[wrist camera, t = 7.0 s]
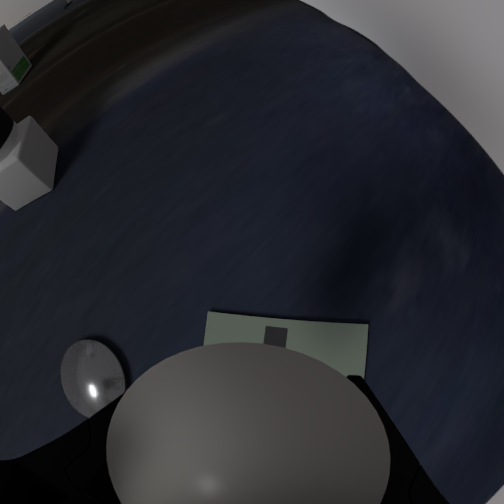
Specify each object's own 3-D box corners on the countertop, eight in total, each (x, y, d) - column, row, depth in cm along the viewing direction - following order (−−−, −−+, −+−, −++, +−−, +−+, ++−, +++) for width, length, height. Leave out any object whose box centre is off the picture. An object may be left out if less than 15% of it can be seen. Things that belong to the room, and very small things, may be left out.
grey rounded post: (302, 452, 12) (336, 601, 2) (217, 441, 13) (111, 562, 3) (320, 333, 14) (414, 286, 4) (234, 324, 15) (133, 256, 5)
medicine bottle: (59, 147, 30) (9, 88, 19) (54, 190, 28) (-11, 131, 17) (22, 169, 30) (-29, 120, 19) (15, 212, 28) (-47, 165, 17)
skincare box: (19, 85, 41) (-14, 41, 26) (2, 96, 41) (-31, 56, 26) (33, 64, 43) (5, 22, 29) (15, 75, 44) (-13, 36, 29)
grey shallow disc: (138, 413, 20) (134, 414, 19) (76, 421, 20) (72, 422, 19) (115, 331, 22) (111, 331, 22) (58, 348, 22) (54, 348, 21)
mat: (347, 472, 17) (348, 473, 17) (192, 458, 18) (191, 459, 18) (367, 324, 21) (368, 324, 20) (208, 311, 22) (208, 311, 22)
